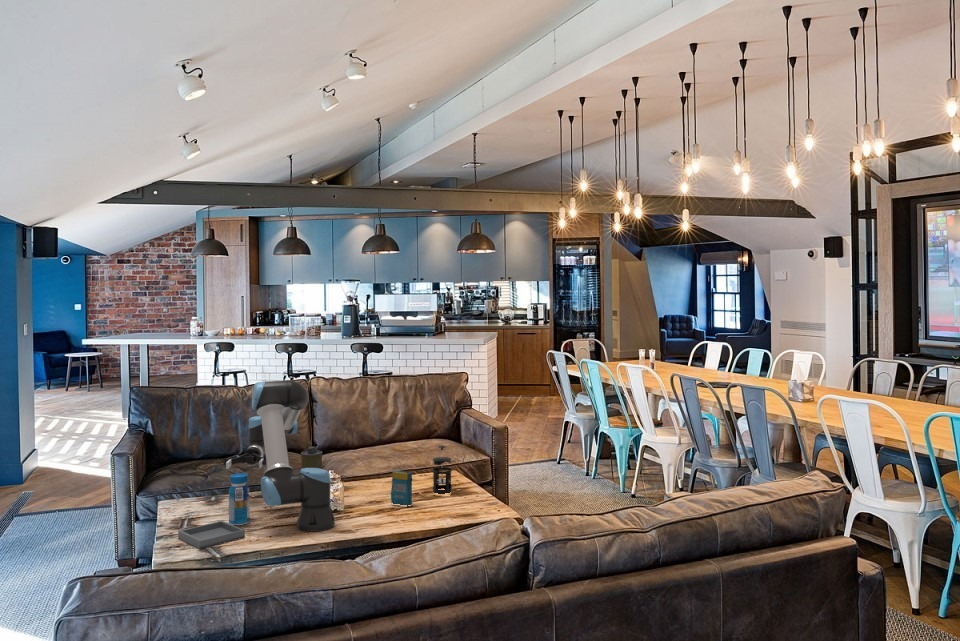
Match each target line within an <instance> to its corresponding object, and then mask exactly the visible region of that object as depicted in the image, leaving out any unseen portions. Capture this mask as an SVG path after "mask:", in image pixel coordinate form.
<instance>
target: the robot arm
mask: <svg viewBox="0 0 960 641" xmlns="http://www.w3.org/2000/svg"><path fill="white" fill-rule="evenodd" d="M309 397H310V395H309V391H308V390H307V388H306V386H304V385H303V384H301V383H300V382H298V381H297V380H292V379H289V380H288V379H287V380H286V379H285V380H272V381H270V380H269V381H268V380H267V381H266V380H264V381H257V382H256V383H254V385H253V388H252V395H251V410H253V411H256V416H252V417H250V418H249V419H248V427H247V428H248V448H247V449H245V451H243V452H244V453H243V454H240V455H238V454H234V455H232V456H229V457H226V458H223V460H222V463H223V464H222V465H223V466H225V467H226V470H229V469H230V468H231V467H232V465H235V464H239V463H240V464H248V465H253V466H254V465H255V464H257V463H258V468H259V469H261V468H262V467H263V466H266V470H265V471H264V472H263V476H262V477H261V479H260V491H261V495H262V498H263V501H264V503H265V504H266V506H268V507H280V506H284V505H294V504H300V510H299V514H298V517H297V520H296V529H297V530H300V531H302V532H320V531H321V532H322V531H327V530H329V529H332V528H334V527H335V525H336V520H335V516H334V513H333V511H332V508H331V475H330V472H329V471H328V470H327V469H324V468H322V469H319V468H303V469H301V468H300V471H299V472H297V473H295V471H294V468H293V467H292V466H290V463H289V455H288V446H287V439H286V436H289V435H295V434H297V432H298V428H299V427H298V418H299V416H300V414H301V412H302V410H303V409H305V408H306V406H307V405H308V403H309V399H310V398H309Z"/></svg>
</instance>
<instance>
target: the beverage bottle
mask: <svg viewBox="0 0 960 641" xmlns="http://www.w3.org/2000/svg"><path fill="white" fill-rule="evenodd" d="M229 479H230V480H229V481H230V482H229V483H230V484H231V485H230V487H229V489H228V494H229V495H228V499H227V500H228V523H229V524H232V525H239V526H244V524H245V525H247V524H249V523H250V521H251V520H250V511H251V510H250V506H251V505H250V504H251V503H250V501H251V500H250V499H251V497H250V496H251V495H250V488H249V486H248V484H247V483H248V473H240V472H239V473H234V474H231V475H230V477H229Z"/></svg>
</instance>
